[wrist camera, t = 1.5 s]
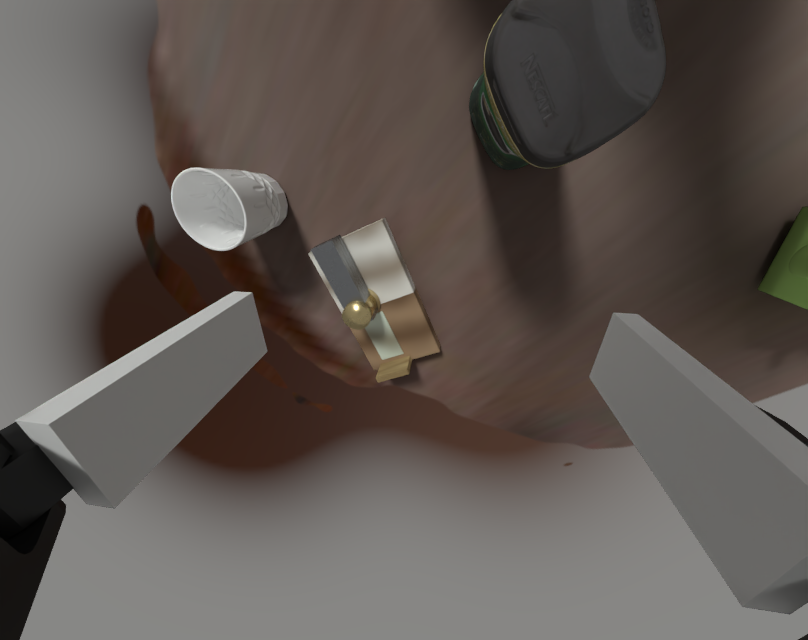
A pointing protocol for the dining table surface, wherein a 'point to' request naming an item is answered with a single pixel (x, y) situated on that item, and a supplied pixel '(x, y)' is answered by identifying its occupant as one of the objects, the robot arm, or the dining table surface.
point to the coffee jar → (565, 78)
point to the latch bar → (346, 282)
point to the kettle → (790, 266)
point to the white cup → (227, 205)
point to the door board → (388, 303)
